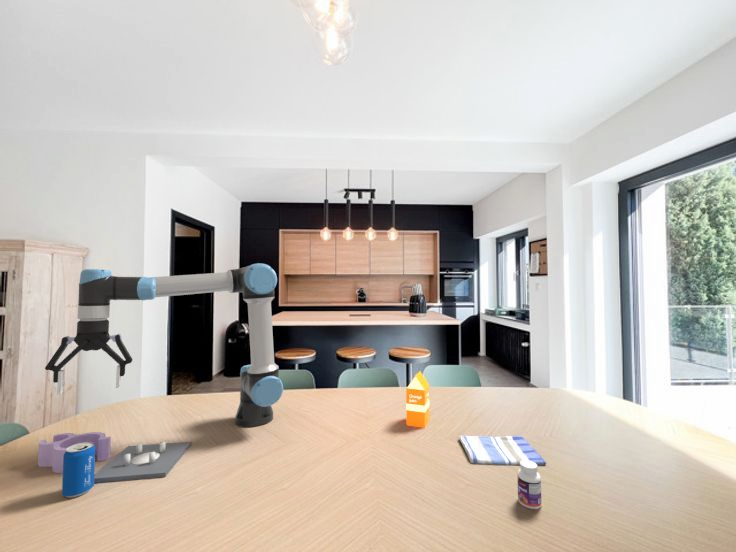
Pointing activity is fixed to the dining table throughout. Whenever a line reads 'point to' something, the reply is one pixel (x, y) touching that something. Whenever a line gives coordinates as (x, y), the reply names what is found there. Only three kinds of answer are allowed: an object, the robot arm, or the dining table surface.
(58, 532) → the dining table surface
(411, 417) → the orange juice
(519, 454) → the dish towel
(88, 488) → the beverage can
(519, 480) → the pill bottle
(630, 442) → the dining table surface
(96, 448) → the clip
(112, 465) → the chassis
